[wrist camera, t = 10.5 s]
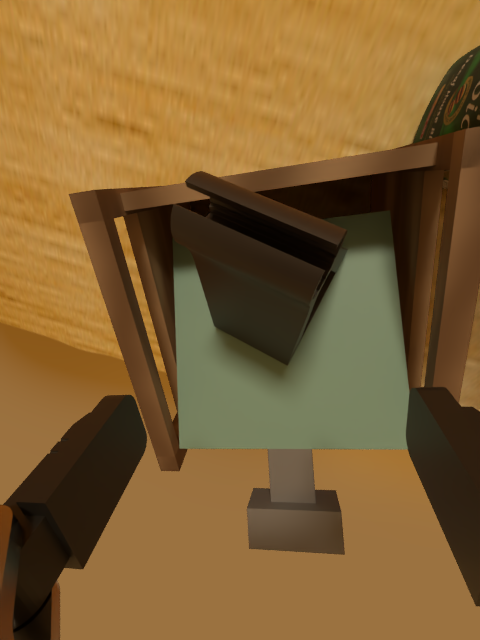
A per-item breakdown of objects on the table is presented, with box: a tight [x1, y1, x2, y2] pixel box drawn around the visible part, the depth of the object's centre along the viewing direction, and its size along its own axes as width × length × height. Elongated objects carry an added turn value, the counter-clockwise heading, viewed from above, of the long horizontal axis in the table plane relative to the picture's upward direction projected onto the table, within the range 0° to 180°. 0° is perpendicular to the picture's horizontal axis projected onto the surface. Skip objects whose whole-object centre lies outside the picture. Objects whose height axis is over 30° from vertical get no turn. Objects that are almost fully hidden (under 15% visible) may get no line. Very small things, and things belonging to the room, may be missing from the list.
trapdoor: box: [173, 210, 409, 555], centre depth 22 cm, size 16×22×3 cm
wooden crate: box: [69, 127, 480, 471], centre depth 26 cm, size 20×20×16 cm
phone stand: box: [170, 171, 348, 366], centre depth 16 cm, size 9×6×12 cm, turn 153°
